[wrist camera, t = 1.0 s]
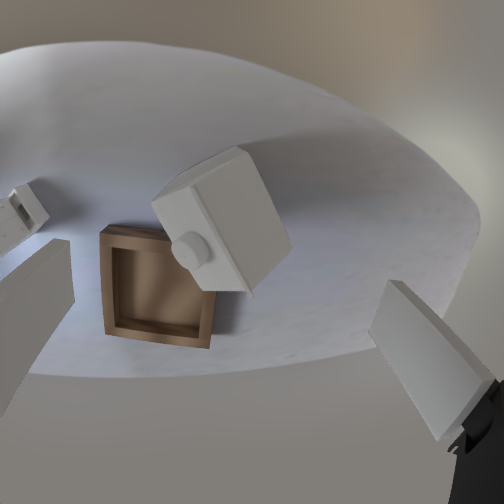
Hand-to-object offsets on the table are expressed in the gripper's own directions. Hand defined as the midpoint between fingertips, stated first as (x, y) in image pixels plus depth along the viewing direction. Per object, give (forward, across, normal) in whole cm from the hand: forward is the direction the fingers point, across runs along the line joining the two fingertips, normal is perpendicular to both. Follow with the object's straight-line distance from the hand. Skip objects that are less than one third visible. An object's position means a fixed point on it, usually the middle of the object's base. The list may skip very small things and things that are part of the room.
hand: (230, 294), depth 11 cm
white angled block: (+24, -25, -5) cm, 35 cm away
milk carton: (+24, 0, 0) cm, 24 cm away
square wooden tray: (+24, -6, -13) cm, 28 cm away
